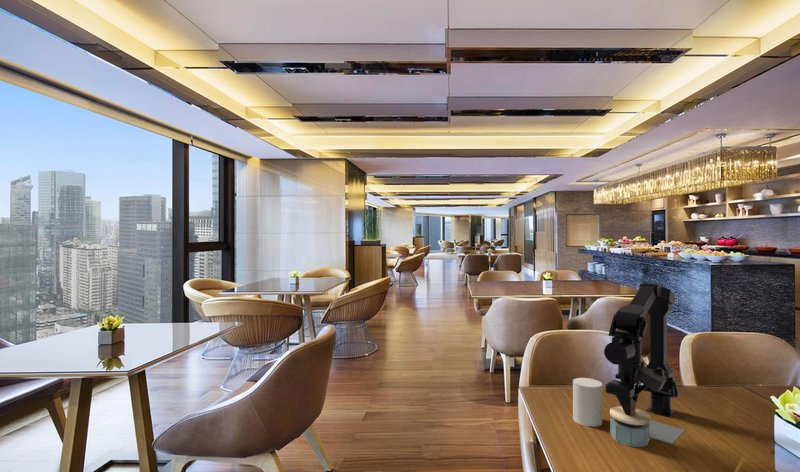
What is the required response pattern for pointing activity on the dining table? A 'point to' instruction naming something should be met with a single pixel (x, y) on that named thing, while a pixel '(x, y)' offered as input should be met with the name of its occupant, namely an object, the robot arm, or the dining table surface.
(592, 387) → the white cylinder
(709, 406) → the dining table surface
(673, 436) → the mat
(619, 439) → the grooved blue cylinder
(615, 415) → the lid
